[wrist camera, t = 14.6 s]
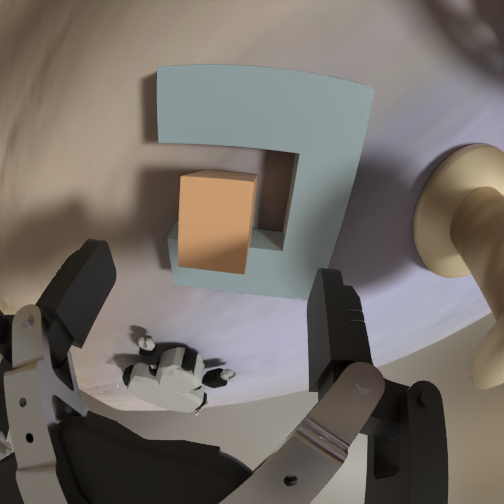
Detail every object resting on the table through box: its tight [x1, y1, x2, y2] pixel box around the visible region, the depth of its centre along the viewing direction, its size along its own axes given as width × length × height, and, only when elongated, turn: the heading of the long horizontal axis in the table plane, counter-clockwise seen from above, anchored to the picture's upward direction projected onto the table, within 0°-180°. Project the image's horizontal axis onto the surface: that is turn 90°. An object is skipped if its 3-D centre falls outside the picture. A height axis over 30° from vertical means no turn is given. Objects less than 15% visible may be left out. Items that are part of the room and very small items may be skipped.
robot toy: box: [117, 337, 237, 416], centre depth 30 cm, size 12×4×15 cm
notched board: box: [157, 65, 375, 300], centre depth 15 cm, size 14×10×2 cm
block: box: [178, 170, 258, 275], centre depth 14 cm, size 4×3×5 cm
